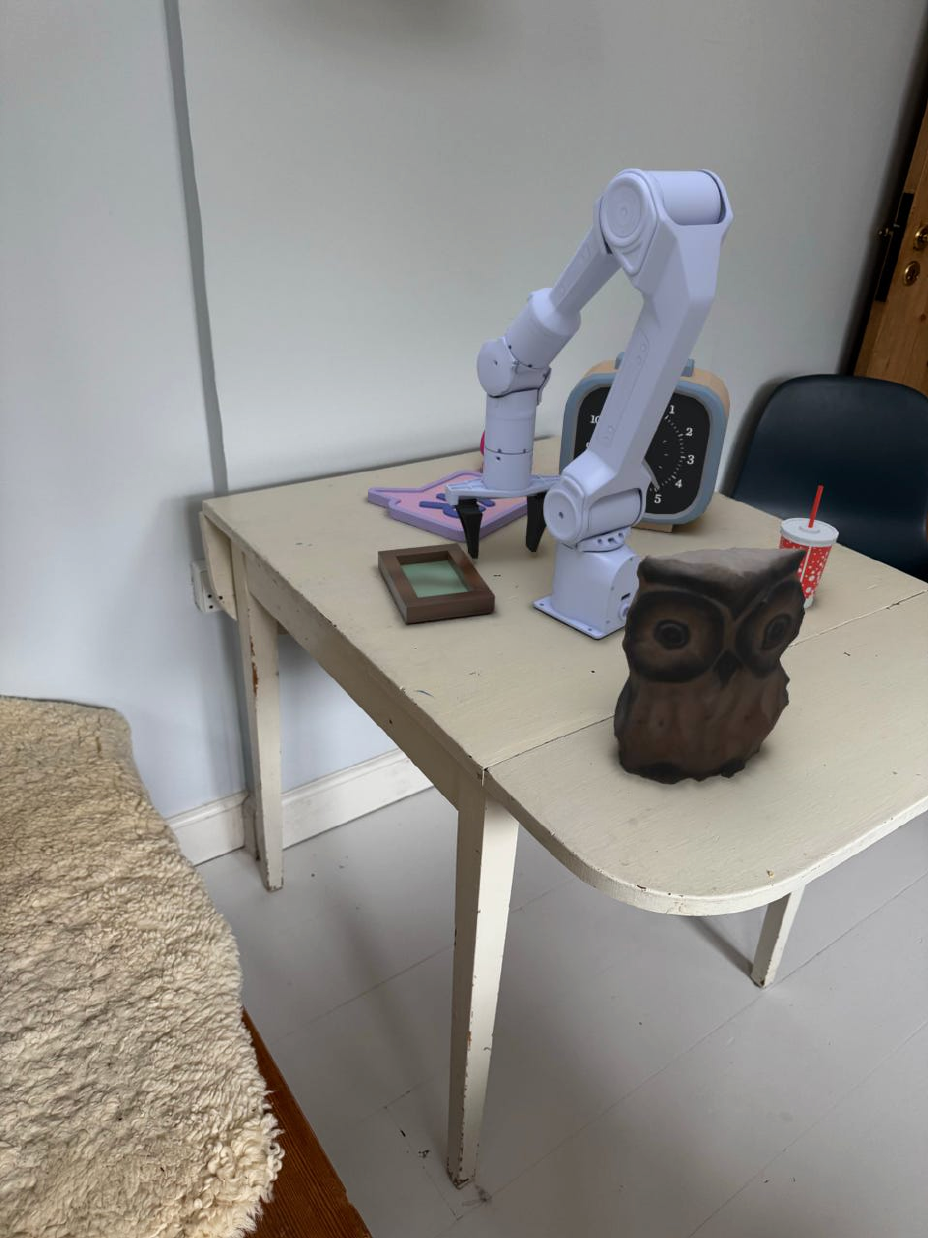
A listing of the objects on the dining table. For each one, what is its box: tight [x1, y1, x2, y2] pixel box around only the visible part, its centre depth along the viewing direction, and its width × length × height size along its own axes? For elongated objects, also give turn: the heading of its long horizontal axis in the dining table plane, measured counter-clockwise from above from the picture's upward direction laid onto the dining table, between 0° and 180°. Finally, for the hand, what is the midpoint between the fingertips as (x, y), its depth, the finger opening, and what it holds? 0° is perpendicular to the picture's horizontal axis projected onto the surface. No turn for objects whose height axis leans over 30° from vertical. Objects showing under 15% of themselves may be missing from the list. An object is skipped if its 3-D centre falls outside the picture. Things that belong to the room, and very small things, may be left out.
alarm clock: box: [558, 351, 731, 533], centre depth 112 cm, size 21×10×22 cm, turn 72°
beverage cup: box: [778, 485, 840, 609], centre depth 94 cm, size 6×6×14 cm
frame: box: [377, 542, 496, 624], centre depth 96 cm, size 14×10×2 cm
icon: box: [367, 469, 527, 543], centre depth 119 cm, size 19×2×20 cm
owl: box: [613, 546, 807, 785], centre depth 68 cm, size 13×13×20 cm
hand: (502, 552), depth 104 cm, fingers open, 7 cm apart
